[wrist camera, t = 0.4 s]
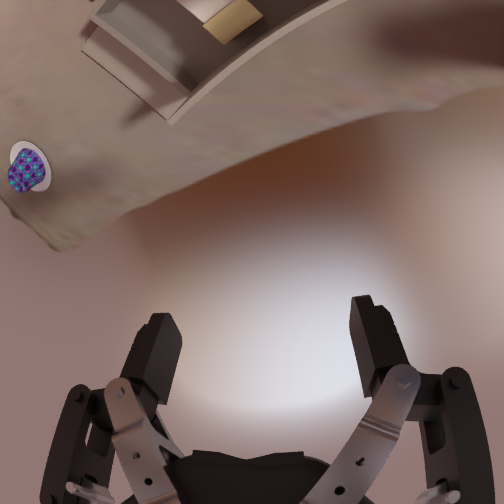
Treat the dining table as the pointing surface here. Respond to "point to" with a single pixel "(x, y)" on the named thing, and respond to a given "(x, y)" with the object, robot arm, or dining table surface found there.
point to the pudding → (28, 168)
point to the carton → (182, 46)
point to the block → (224, 16)
